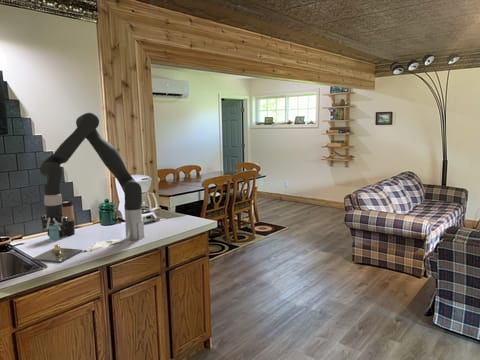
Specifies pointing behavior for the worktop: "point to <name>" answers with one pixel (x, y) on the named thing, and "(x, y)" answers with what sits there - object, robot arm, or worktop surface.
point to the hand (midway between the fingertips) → (56, 236)
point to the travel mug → (68, 213)
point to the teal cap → (54, 233)
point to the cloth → (102, 244)
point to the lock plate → (57, 254)
